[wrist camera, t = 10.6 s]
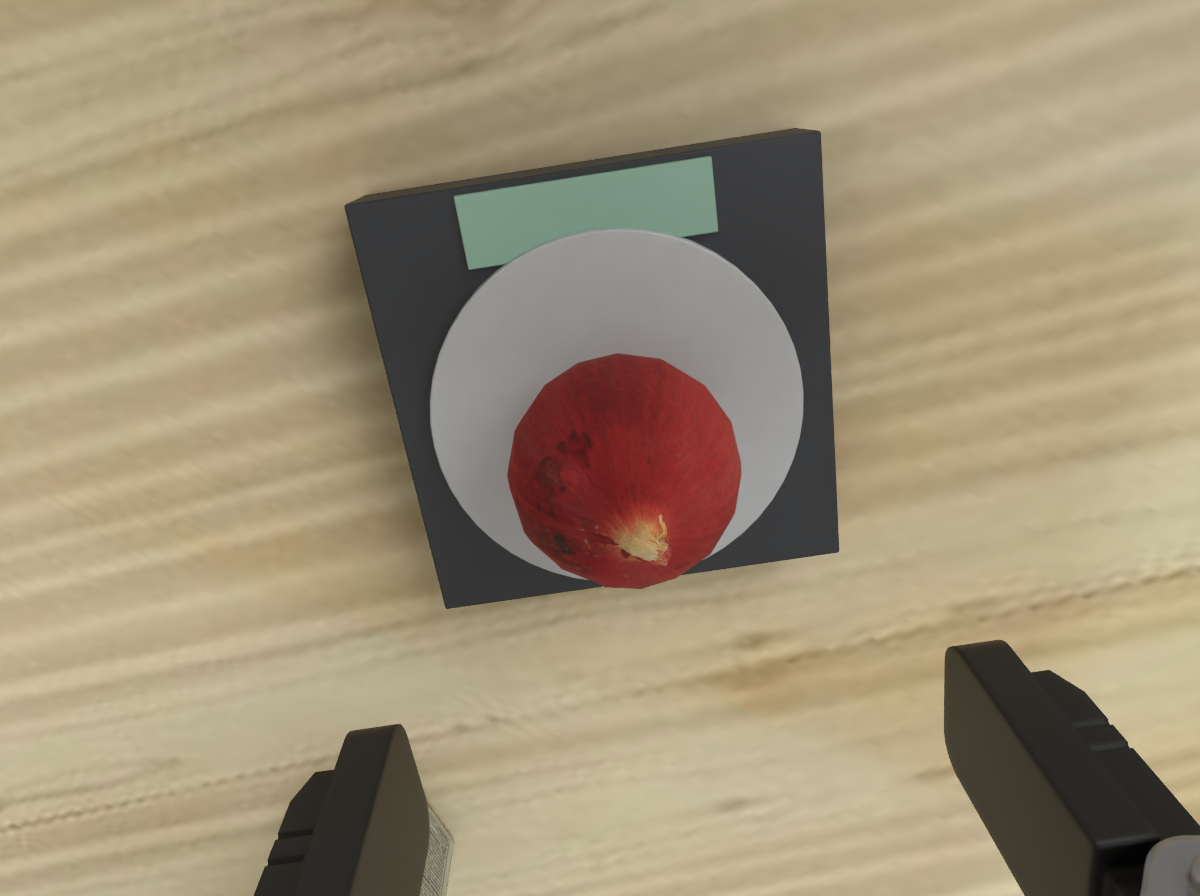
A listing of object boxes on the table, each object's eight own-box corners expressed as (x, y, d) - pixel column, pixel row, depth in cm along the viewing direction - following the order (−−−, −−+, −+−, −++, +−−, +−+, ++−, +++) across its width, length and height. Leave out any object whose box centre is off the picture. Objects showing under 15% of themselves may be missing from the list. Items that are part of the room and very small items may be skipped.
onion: (549, 528, 26) (542, 696, 19) (490, 355, 24) (457, 467, 17) (733, 479, 26) (799, 631, 19) (689, 299, 24) (744, 389, 16)
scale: (363, 195, 25) (338, 207, 23) (798, 127, 25) (827, 131, 22) (454, 571, 30) (442, 619, 28) (818, 517, 30) (845, 562, 27)
